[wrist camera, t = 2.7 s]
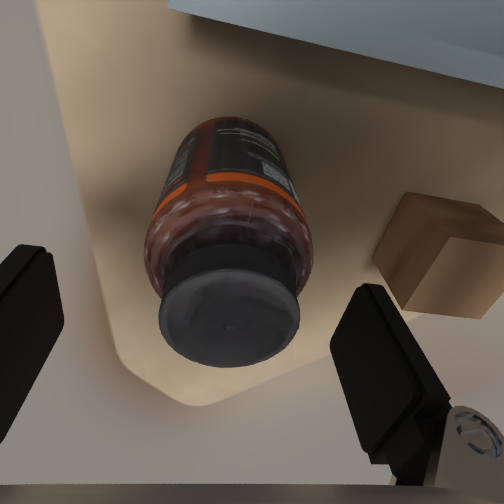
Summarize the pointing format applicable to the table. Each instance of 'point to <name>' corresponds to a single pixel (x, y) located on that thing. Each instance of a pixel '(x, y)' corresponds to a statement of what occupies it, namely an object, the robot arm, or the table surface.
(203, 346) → the supplement bottle
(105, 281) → the table surface
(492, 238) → the walnut cube
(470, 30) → the tote
